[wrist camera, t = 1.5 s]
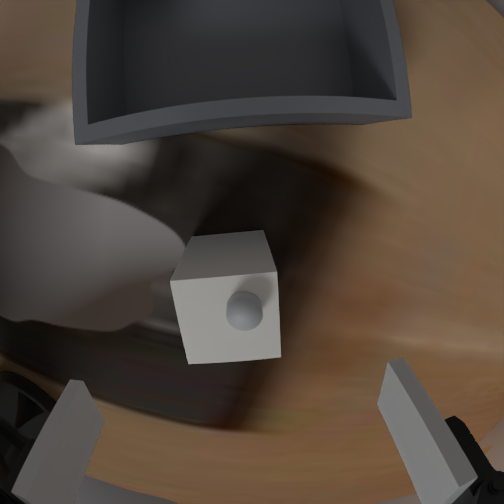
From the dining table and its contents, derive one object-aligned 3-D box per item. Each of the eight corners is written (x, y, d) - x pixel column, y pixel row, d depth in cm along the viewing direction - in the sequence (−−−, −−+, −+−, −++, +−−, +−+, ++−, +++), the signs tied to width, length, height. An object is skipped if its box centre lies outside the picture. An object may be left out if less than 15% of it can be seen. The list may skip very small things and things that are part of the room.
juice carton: (201, 300, 27) (186, 373, 18) (191, 236, 25) (166, 288, 16) (267, 294, 27) (282, 366, 18) (263, 229, 25) (279, 278, 16)
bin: (121, 144, 22) (75, 144, 15) (119, -5, 17) (85, -45, 10) (362, 124, 23) (411, 117, 15) (340, -21, 18) (371, -64, 10)
